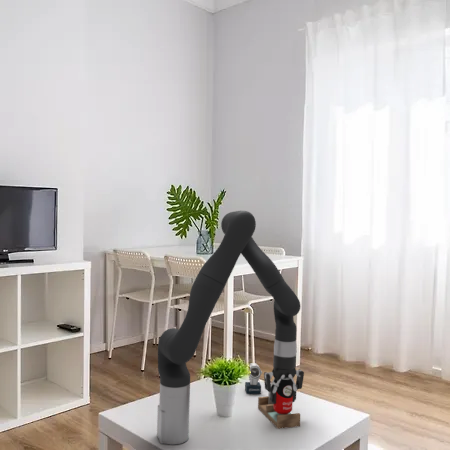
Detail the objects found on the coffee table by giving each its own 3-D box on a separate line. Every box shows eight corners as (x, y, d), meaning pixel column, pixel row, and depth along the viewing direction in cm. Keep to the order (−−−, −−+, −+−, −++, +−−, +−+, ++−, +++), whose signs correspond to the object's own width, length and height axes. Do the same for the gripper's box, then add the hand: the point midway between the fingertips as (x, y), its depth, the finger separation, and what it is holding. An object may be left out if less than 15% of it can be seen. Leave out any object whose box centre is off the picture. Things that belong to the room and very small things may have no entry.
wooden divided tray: (277, 428, 166) (278, 399, 165) (257, 408, 182) (258, 381, 182) (299, 426, 168) (301, 397, 168) (278, 406, 185) (279, 380, 184)
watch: (247, 396, 193) (248, 367, 193) (244, 388, 201) (245, 360, 201) (262, 395, 194) (263, 367, 193) (258, 388, 202) (259, 360, 201)
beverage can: (271, 413, 170) (272, 377, 169) (275, 406, 176) (277, 372, 175) (289, 416, 168) (291, 380, 167) (293, 409, 174) (295, 374, 173)
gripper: (299, 348, 177) (297, 396, 177) (260, 350, 172) (258, 399, 173) (309, 354, 170) (307, 404, 170) (269, 357, 165) (267, 408, 166)
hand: (282, 402), depth 172 cm, fingers closed on beverage can, 6 cm apart
